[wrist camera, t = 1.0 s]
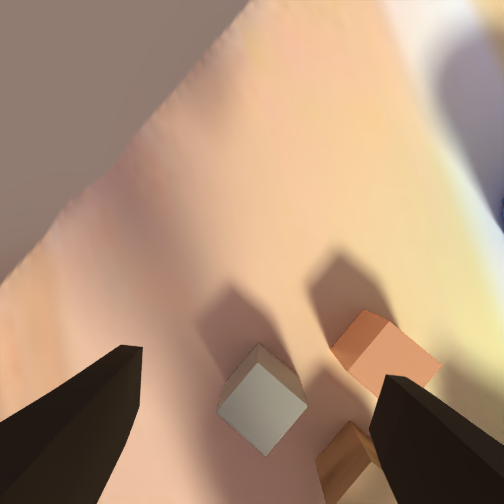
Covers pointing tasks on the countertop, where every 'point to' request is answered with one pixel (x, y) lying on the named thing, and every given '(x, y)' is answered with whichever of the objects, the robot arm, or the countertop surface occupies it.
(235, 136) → the countertop surface
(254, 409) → the slate block
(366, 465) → the walnut block
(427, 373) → the terracotta block
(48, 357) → the countertop surface
